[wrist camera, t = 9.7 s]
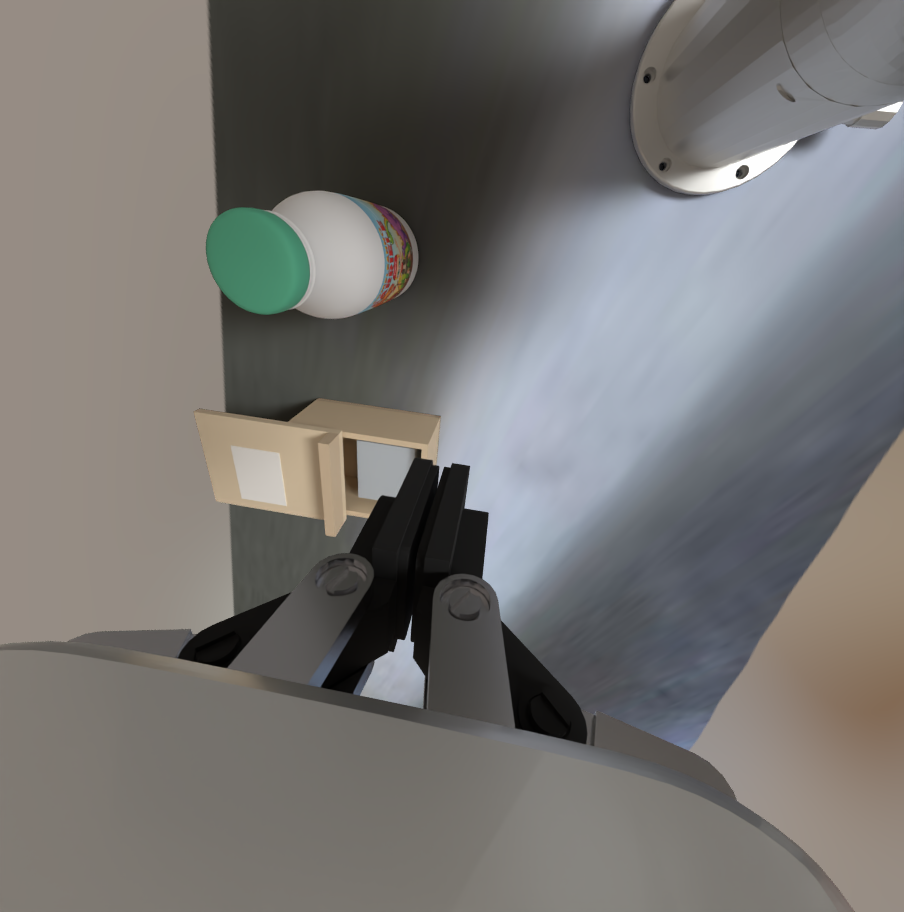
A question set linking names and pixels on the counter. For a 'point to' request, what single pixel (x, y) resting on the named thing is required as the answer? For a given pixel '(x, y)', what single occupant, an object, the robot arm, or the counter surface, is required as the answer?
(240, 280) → the milk bottle
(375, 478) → the mailer box
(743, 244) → the counter surface
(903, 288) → the counter surface
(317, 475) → the lid
